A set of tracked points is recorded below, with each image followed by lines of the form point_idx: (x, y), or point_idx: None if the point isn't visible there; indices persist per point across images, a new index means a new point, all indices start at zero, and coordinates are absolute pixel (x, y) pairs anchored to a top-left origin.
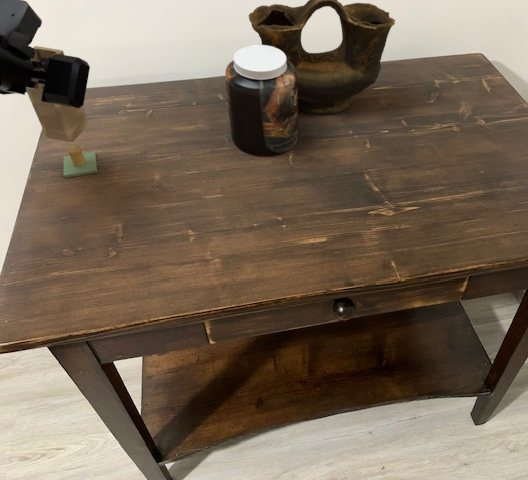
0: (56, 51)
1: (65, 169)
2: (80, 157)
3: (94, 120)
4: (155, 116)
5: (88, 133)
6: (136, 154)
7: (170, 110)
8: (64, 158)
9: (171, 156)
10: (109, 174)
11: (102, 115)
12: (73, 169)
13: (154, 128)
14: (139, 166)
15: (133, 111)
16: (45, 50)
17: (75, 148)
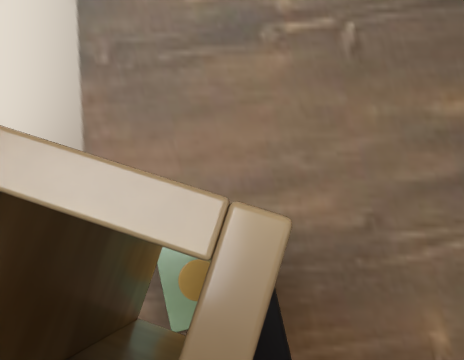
0: (201, 251)
1: (171, 306)
2: None
3: (200, 69)
4: (369, 51)
5: (196, 127)
6: (353, 227)
7: (406, 23)
8: None
9: (459, 239)
10: (296, 318)
11: (217, 47)
12: (194, 306)
13: (378, 106)
14: (375, 284)
15: (300, 28)
16: (30, 198)
17: (202, 279)
